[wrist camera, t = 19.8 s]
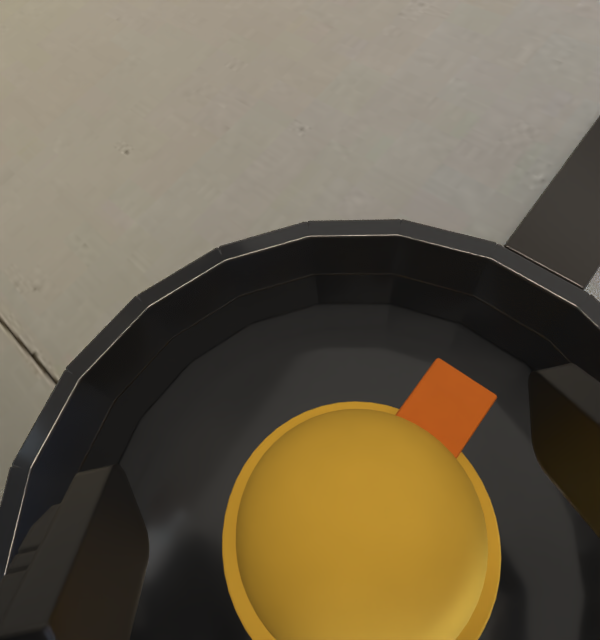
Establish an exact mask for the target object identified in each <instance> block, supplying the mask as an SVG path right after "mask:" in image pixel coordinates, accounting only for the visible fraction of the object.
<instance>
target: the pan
mask: <svg viewBox="0 0 600 640" xmlns="http://www.w3.org/2000/svg"><path fill="white" fill-rule="evenodd" d="M437 358H440V359H442V360H443V361H445V362H446V363H448V364H449V365H451V366H452V367H454V368H455V369H457V370H458V371H460V372H462V373H463V374H465V375H466V376H468V377H469V378H471V379H472V380H474V381H475V382H477V383H479V384H480V385H482V386H483V387H485V388H486V389H488V390H489V391H491V392H492V393H494V394H495V395H496V396H497V399H496V400H495V402H494V403H493V405H492V406H491V408H490V409H489V411H488V412H487V414H486V415H485V417H484V418H483V420H482V421H481V423H480V424H479V426H478V427H477V429H476V430H475V432H474V433H473V435H472V436H471V438H470V439H469V441H468V442H467V444H466V445H465V447H464V448H463V450H462V451H461V452H462V453H463V454H464V455H465V457H466V458H467V459H468V460H469V462H470V463H471V464H472V466H473V467H474V469H475V471H476V472H477V474H478V476H479V477H480V479H481V481H482V482H483V485H484V487H485V489H486V491H487V493H488V495H489V498H490V500H491V503H492V506H493V510H494V513H495V516H496V520H497V525H498V530H499V535H500V547H501V570H500V581H499V586H498V591H497V596H496V600H495V603H494V606H493V609H492V612H491V615H490V618H489V620H488V622H487V624H486V626H485V628H484V630H483V632H482V634H481V636H480V637H479V639H478V640H600V538H599V537H598V536H597V535H596V534H595V533H594V531H593V530H592V529H591V528H590V527H589V525H588V524H587V523H586V522H585V521H584V520H583V518H582V517H581V516H580V515H579V514H578V512H577V511H576V510H575V509H574V508H573V506H572V505H571V504H570V503H569V502H568V501H567V499H566V498H565V497H564V496H563V495H562V493H561V492H560V491H559V490H558V489H557V488H556V486H555V485H554V484H553V483H552V482H551V480H550V479H549V478H548V477H547V476H546V475H545V473H544V472H543V470H542V469H541V467H540V465H539V463H538V461H537V459H536V456H535V453H534V450H533V446H532V439H531V423H530V407H529V391H528V378H529V375H530V373H531V372H533V371H537V370H542V369H546V368H550V367H555V366H559V365H564V364H568V363H573V364H575V365H577V366H578V367H580V368H581V369H582V370H584V371H585V372H586V373H588V374H589V375H590V376H592V377H593V378H595V379H596V380H597V381H599V382H600V302H599V301H598V300H597V299H596V298H595V297H594V296H592V295H589V293H588V292H586V291H584V290H582V289H580V288H578V287H577V286H575V285H573V284H571V283H569V282H567V281H566V280H564V279H562V278H560V277H558V276H556V275H555V274H553V273H551V272H549V271H547V270H545V269H544V268H542V267H540V266H538V265H536V264H534V263H533V262H531V261H529V260H527V259H525V258H523V257H522V256H520V255H518V254H516V253H514V252H512V251H511V250H509V249H507V248H505V247H503V246H501V245H500V244H497V245H496V243H495V242H492V241H488V240H484V239H480V238H476V237H472V236H468V235H464V234H459V233H455V232H451V231H447V230H443V229H439V228H435V227H431V226H427V225H423V224H419V223H415V222H411V221H407V220H400V219H388V220H330V221H308V223H307V222H302V223H299V224H295V225H292V226H288V227H285V228H281V229H278V230H274V231H271V232H267V233H264V234H260V235H257V236H253V237H250V238H246V239H243V240H239V241H236V242H232V243H229V244H225V245H222V246H220V247H219V248H215V249H213V250H212V251H210V252H208V253H207V254H205V255H203V256H202V257H200V258H198V259H197V260H195V261H193V262H192V263H190V264H188V265H187V266H185V267H183V268H182V269H180V270H178V271H177V272H175V273H173V274H172V275H170V276H168V277H167V278H165V279H163V280H162V281H160V282H158V283H157V284H155V285H153V286H152V287H150V288H148V289H147V290H145V291H143V292H142V293H140V294H138V295H137V296H135V297H134V298H133V299H132V300H131V301H130V302H129V303H128V304H127V305H126V306H125V307H124V308H123V309H122V310H121V311H120V312H119V313H118V315H117V316H116V317H115V318H114V319H113V320H112V321H111V322H110V323H109V324H108V325H107V326H106V327H105V328H104V329H103V330H102V331H101V332H100V333H99V334H98V335H97V336H96V337H95V338H94V339H93V340H92V341H91V342H90V343H89V344H88V345H87V346H86V348H85V349H84V350H83V351H82V352H81V353H80V354H79V355H78V356H77V357H76V358H75V359H74V360H73V361H72V362H71V363H70V364H69V365H68V366H67V367H66V370H65V371H64V372H63V374H62V376H61V377H60V379H59V381H58V383H57V385H56V386H55V388H54V390H53V392H52V394H51V395H50V397H49V399H48V401H47V402H46V404H45V406H44V408H43V410H42V411H41V413H40V415H39V417H38V418H37V420H36V422H35V424H34V426H33V427H32V429H31V431H30V433H29V435H28V436H27V438H26V440H25V442H24V443H23V445H22V447H21V449H20V451H19V452H18V454H17V456H16V458H15V459H14V461H13V463H12V467H10V470H9V474H8V478H7V482H6V485H5V489H4V493H3V497H2V501H1V505H0V581H1V580H2V578H3V576H4V575H6V574H7V569H8V567H9V565H10V563H11V562H12V560H13V558H14V556H15V555H17V554H18V549H19V547H20V546H21V544H22V542H23V540H24V538H25V537H26V535H27V533H28V531H29V529H30V528H31V526H32V525H33V524H34V523H35V522H36V521H37V520H38V519H39V518H40V517H41V516H42V515H43V514H44V513H45V512H46V511H47V510H48V509H49V508H50V507H51V506H52V505H56V504H60V503H61V502H62V500H63V498H64V496H65V494H66V492H67V490H68V488H69V486H70V484H71V482H72V480H73V478H74V476H75V475H76V474H77V473H79V472H82V471H86V470H91V469H95V468H100V467H104V466H109V465H113V464H119V465H120V466H121V467H122V468H123V469H124V471H125V473H126V476H127V478H128V481H129V484H130V486H131V489H132V491H133V494H134V497H135V499H136V502H137V504H138V507H139V510H140V512H141V515H142V517H143V520H144V523H145V525H146V528H147V532H148V538H149V561H148V565H147V569H146V574H145V578H144V582H143V586H142V590H141V594H140V598H139V603H138V607H137V611H136V615H135V619H134V623H133V628H132V632H131V636H130V640H252V639H251V637H250V636H249V634H248V633H247V631H246V630H245V628H244V626H243V624H242V622H241V620H240V618H239V616H238V615H237V613H236V611H235V608H234V605H233V602H232V600H231V597H230V594H229V591H228V587H227V582H226V578H225V574H224V566H223V557H222V532H223V525H224V517H225V512H226V508H227V504H228V500H229V497H230V494H231V492H232V489H233V487H234V484H235V481H236V479H237V477H238V476H239V474H240V472H241V470H242V468H243V466H244V464H245V463H246V462H247V460H248V459H249V457H250V456H251V455H252V453H253V452H254V450H255V449H256V448H257V447H258V446H259V445H260V444H261V443H262V442H263V440H264V439H265V438H266V437H268V436H269V435H270V434H271V433H272V432H273V431H275V430H276V429H277V428H278V427H280V426H281V425H283V424H284V423H286V422H287V421H289V420H290V419H292V418H294V417H296V416H298V415H300V414H302V413H304V412H306V411H308V410H311V409H314V408H317V407H320V406H324V405H329V404H334V403H339V402H353V401H356V402H372V403H377V404H383V405H388V406H391V407H394V408H397V409H400V408H401V406H402V405H403V404H404V402H405V401H406V399H407V398H408V397H409V395H410V394H411V393H412V391H413V390H414V388H415V387H416V386H417V384H418V383H419V382H420V380H421V379H422V377H423V376H424V375H425V373H426V372H427V371H428V369H429V368H430V366H431V365H432V364H433V362H434V361H435V360H436V359H437Z"/></svg>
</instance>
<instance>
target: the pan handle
mask: <svg viewBox="0 0 600 640" xmlns="http://www.w3.org/2000/svg"><path fill="white" fill-rule="evenodd" d="M504 247H505V248H507V249H509V250H511V251H512V252H514V253H516V254H518V255H520V256H522V257H523V258H525V259H527V260H529V261H531V262H533V263H534V264H536V265H538V266H540V267H542V268H544V269H545V270H547V271H549V272H551V273H553V274H555V275H556V276H558V277H560V278H562V279H564V280H566V281H567V282H569V283H571V284H573V285H575V286H577V287H578V288H580V289H582V290H584V289H585V288H586V286H587V285H588V283H589V282H590V280H591V279H592V277H593V276H594V274H595V273H596V271H597V270H598V268H599V267H600V116H599V117H598V119H597V120H596V121H595V123H594V124H593V125H592V127H591V128H590V130H589V131H588V132H587V134H586V135H585V136H584V138H583V139H582V140H581V142H580V143H579V145H578V146H577V147H576V149H575V150H574V151H573V153H572V154H571V155H570V157H569V158H568V159H567V161H566V162H565V164H564V165H563V166H562V168H561V169H560V170H559V172H558V173H557V174H556V176H555V177H554V178H553V180H552V181H551V183H550V184H549V185H548V187H547V188H546V189H545V191H544V192H543V193H542V195H541V196H540V198H539V199H538V200H537V202H536V203H535V204H534V206H533V207H532V208H531V210H530V211H529V212H528V214H527V215H526V217H525V218H524V219H523V221H522V222H521V223H520V225H519V226H518V227H517V229H516V230H515V231H514V233H513V234H512V236H511V237H510V238H509V240H508V241H507V242H506V244H505V245H504Z"/></svg>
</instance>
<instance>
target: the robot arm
mask: <svg viewBox="0 0 600 640" xmlns="http://www.w3.org/2000/svg"><path fill="white" fill-rule="evenodd" d="M528 391H529V407H530V423H531V439H532V446H533V450H534V453H535V456H536V459H537V461H538V463H539V465H540V467H541V469H542V470H543V472H544V473H545V475H546V476H547V477H548V478H549V479H550V480H551V482H552V483H553V484H554V485H555V486H556V488H557V489H558V490H559V491H560V492H561V493H562V495H563V496H564V497H565V498H566V499H567V501H568V502H569V503H570V504H571V505H572V506H573V508H574V509H575V510H576V511H577V512H578V514H579V515H580V516H581V517H582V518H583V520H584V521H585V522H586V523H587V524H588V525H589V527H590V528H591V529H592V530H593V531H594V533H595V534H596V535H597V536H598V537H599V538H600V382H599V381H597V380H596V379H595V378H593V377H592V376H590V375H589V374H588V373H586V372H585V371H584V370H582V369H581V368H580V367H578V366H577V365H575V364H573V363H568V364H564V365H559V366H555V367H550V368H546V369H542V370H537V371H533V372H531V373H530V375H529V378H528ZM148 561H149V538H148V532H147V528H146V525H145V523H144V520H143V517H142V515H141V512H140V510H139V507H138V504H137V502H136V499H135V497H134V494H133V491H132V489H131V486H130V484H129V481H128V478H127V476H126V473H125V471H124V469H123V468H122V467H121V466H120V465H119V464H113V465H109V466H104V467H100V468H95V469H91V470H86V471H82V472H79V473H77V474H76V475H75V476H74V478H73V480H72V482H71V484H70V486H69V488H68V490H67V492H66V494H65V496H64V498H63V500H62V502H61V503H60V504H56V505H52V506H51V507H50V508H49V509H48V510H47V511H46V512H45V513H44V514H43V515H42V516H41V517H40V518H39V519H38V520H37V521H36V522H35V523H34V524H33V525H32V526H31V528H30V529H29V531H28V533H27V535H26V537H25V538H24V540H23V542H22V544H21V546H20V547H19V549H18V554H17V555H15V556H14V558H13V560H12V562H11V563H10V565H9V567H8V569H7V574H6V575H4V576H3V578H2V580H1V581H0V640H130V636H131V632H132V628H133V623H134V619H135V615H136V611H137V607H138V603H139V598H140V594H141V590H142V586H143V582H144V578H145V574H146V569H147V565H148Z"/></svg>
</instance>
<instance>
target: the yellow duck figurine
mask: <svg viewBox="0 0 600 640" xmlns="http://www.w3.org/2000/svg"><path fill="white" fill-rule="evenodd" d="M496 399H497V396H496V395H495V394H494V393H492V392H491V391H489V390H488V389H486V388H485V387H483V386H482V385H480V384H479V383H477V382H475V381H474V380H472V379H471V378H469V377H468V376H466V375H465V374H463V373H462V372H460V371H458V370H457V369H455V368H454V367H452V366H451V365H449V364H448V363H446V362H445V361H443V360H442V359H440V358H437V359H436V360H435V361H434V362H433V364H432V365H431V366H430V368H429V369H428V371H427V372H426V373H425V375H424V376H423V377H422V379H421V380H420V382H419V383H418V384H417V386H416V387H415V388H414V390H413V391H412V393H411V394H410V395H409V397H408V398H407V399H406V401H405V402H404V404H403V405H402V406H401V408H400V409H397V408H394V407H391V406H388V405H383V404H377V403H372V402H356V401H353V402H339V403H334V404H329V405H324V406H320V407H317V408H314V409H311V410H308V411H306V412H304V413H302V414H300V415H298V416H296V417H294V418H292V419H290V420H289V421H287V422H286V423H284V424H283V425H281V426H280V427H278V428H277V429H276V430H275V431H273V432H272V433H271V434H270V435H269V436H268V437H266V438H265V439H264V440H263V442H262V443H261V444H260V445H259V446H258V447H257V448H256V449H255V450H254V452H253V453H252V455H251V456H250V457H249V459H248V460H247V462H246V463H245V464H244V466H243V468H242V470H241V472H240V474H239V476H238V477H237V479H236V481H235V484H234V487H233V489H232V492H231V494H230V497H229V500H228V504H227V508H226V512H225V517H224V525H223V532H222V557H223V566H224V574H225V578H226V582H227V587H228V591H229V594H230V597H231V600H232V602H233V605H234V608H235V611H236V613H237V615H238V616H239V618H240V620H241V622H242V624H243V626H244V628H245V630H246V631H247V633H248V634H249V636H250V637H251V639H252V640H478V639H479V637H480V636H481V634H482V632H483V630H484V628H485V626H486V624H487V622H488V620H489V618H490V615H491V612H492V609H493V606H494V603H495V600H496V596H497V591H498V586H499V581H500V570H501V547H500V535H499V530H498V525H497V520H496V516H495V513H494V510H493V506H492V503H491V500H490V498H489V495H488V493H487V491H486V489H485V487H484V485H483V482H482V481H481V479H480V477H479V476H478V474H477V472H476V471H475V469H474V467H473V466H472V464H471V463H470V462H469V460H468V459H467V458H466V457H465V455H464V454H463V453H462V452H461V451H462V450H463V448H464V447H465V445H466V444H467V442H468V441H469V439H470V438H471V436H472V435H473V433H474V432H475V430H476V429H477V427H478V426H479V424H480V423H481V421H482V420H483V418H484V417H485V415H486V414H487V412H488V411H489V409H490V408H491V406H492V405H493V403H494V402H495V400H496Z"/></svg>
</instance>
